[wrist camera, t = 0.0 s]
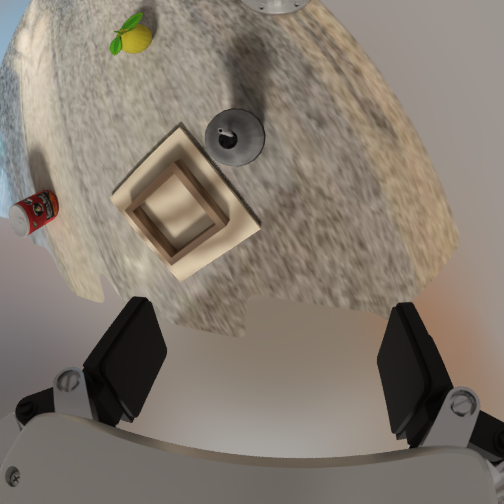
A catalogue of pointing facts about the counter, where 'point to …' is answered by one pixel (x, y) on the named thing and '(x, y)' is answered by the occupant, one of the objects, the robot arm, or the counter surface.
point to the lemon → (131, 37)
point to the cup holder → (183, 207)
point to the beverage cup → (235, 137)
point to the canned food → (33, 213)
